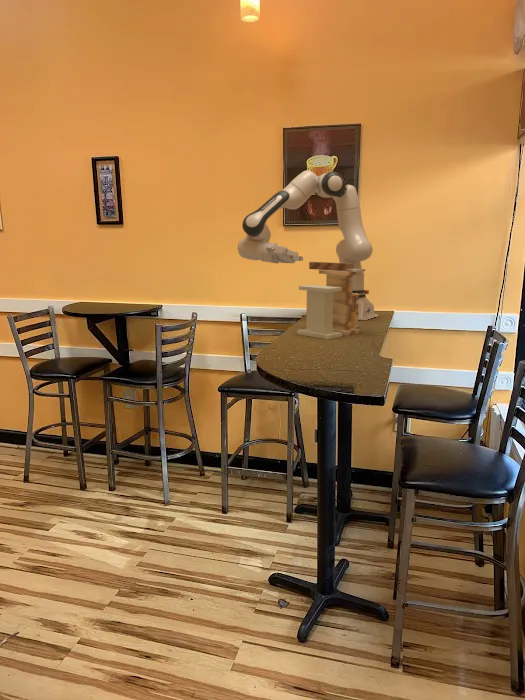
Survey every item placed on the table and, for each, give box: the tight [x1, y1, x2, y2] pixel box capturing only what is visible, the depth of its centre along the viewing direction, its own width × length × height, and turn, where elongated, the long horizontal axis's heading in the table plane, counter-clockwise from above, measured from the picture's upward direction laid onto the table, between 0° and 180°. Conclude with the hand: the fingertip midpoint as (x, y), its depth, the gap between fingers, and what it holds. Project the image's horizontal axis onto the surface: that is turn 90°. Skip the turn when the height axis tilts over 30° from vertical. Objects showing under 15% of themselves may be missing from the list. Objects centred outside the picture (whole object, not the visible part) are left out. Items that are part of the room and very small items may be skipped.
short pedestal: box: [296, 284, 343, 340], centre depth 218 cm, size 9×17×20 cm, turn 42°
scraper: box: [308, 261, 366, 272], centre depth 224 cm, size 27×6×3 cm, turn 42°
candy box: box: [351, 293, 359, 329], centre depth 236 cm, size 9×4×15 cm, turn 63°
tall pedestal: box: [318, 270, 362, 336], centre depth 225 cm, size 9×17×26 cm, turn 42°
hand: (300, 256), depth 239 cm, fingers open, 8 cm apart
